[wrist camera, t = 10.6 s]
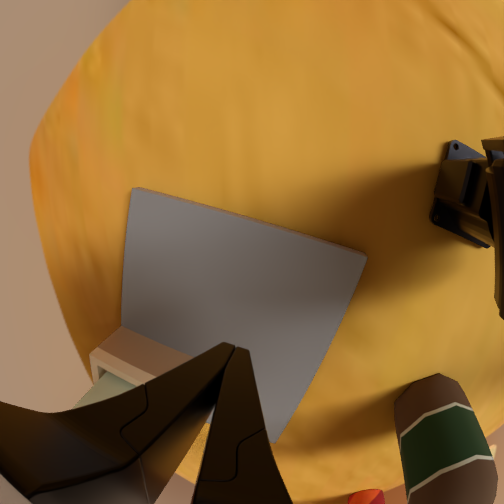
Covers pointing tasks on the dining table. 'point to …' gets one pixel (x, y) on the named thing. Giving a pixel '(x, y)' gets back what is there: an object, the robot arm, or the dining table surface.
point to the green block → (105, 389)
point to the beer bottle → (443, 445)
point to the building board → (226, 298)
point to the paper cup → (367, 497)
